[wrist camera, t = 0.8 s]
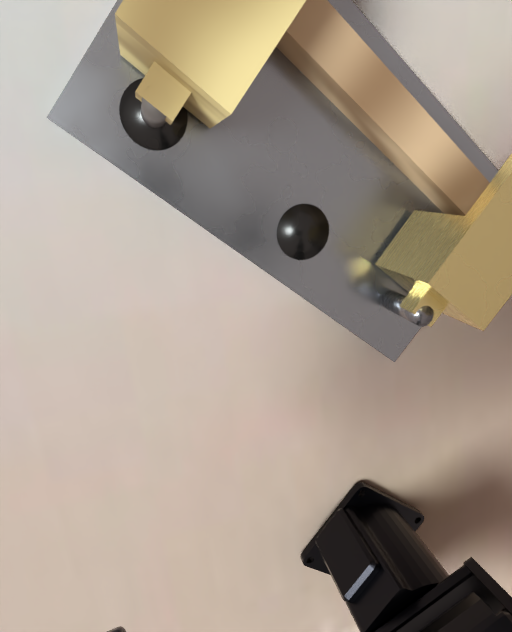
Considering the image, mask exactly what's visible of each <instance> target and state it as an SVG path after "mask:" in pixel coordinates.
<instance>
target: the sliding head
mask: <svg viewBox="0 0 512 632" xmlns="http://www.w3.org/2000/svg"><path fill="white" fill-rule="evenodd" d="M375 265H376V266H377V267H379V268H380V269H381V270H382V271H383V272H385V273H386V274H387V275H388V276H390V277H391V278H392V279H393V280H394V281H396V282H397V283H398V284H399V285H400V286H402V287H403V288H404V289H405V290H407V291H408V292H409V293H408V295H407V296H405V295H402V294H400V293H398V292H396V291H393V290H390V291H387V292H386V293H385V294H384V295H383V296H382V299H381V304H382V306H383V307H384V308H386V309H387V310H389V311H391V312H393V313H395V314H397V315H399V316H401V317H403V318H405V319H407V320H408V321H410V322H412V323H414V324H416V325H418V326H421V327H423V326H426V325H427V326H429V327H432V325H433V324H434V323H435V321H436V320H437V319H438V317H439V316H440V315H441V313H443V314H446V315H448V316H450V317H452V318H455V319H457V320H459V321H461V322H464V323H466V324H468V325H470V326H473V327H475V328H477V329H480V330H482V331H484V329H485V328H486V327H487V326H488V324H489V323H490V322H491V321H492V319H493V318H494V317H495V315H496V314H497V313H498V312H499V310H500V309H501V308H502V306H503V305H504V304H505V303H506V301H507V300H508V299H509V297H510V296H511V295H512V154H511V155H510V156H509V158H508V159H507V160H506V162H505V163H504V164H503V166H502V167H501V169H500V170H499V171H498V173H497V174H496V175H495V177H494V178H493V179H492V181H491V182H490V183H489V185H488V186H487V187H486V189H485V190H484V191H483V193H482V194H481V195H480V197H479V198H478V199H477V201H476V202H475V203H474V205H473V206H472V207H471V209H470V210H469V211H468V213H467V214H466V215H465V216H460V215H451V214H442V213H434V212H425V211H416V210H414V211H413V213H412V214H411V215H410V217H409V218H408V220H407V221H406V222H405V224H404V225H403V226H402V228H401V229H400V230H399V232H398V233H397V235H396V236H395V237H394V239H393V240H392V241H391V243H390V244H389V246H388V247H387V248H386V250H385V251H384V252H383V254H382V255H381V256H380V258H379V259H378V261H377V262H376V263H375Z"/></svg>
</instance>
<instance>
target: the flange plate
mask: <svg viewBox="0 0 512 632" xmlns="http://www.w3.org/2000/svg"><path fill="white" fill-rule="evenodd" d="M122 1H123V0H117V2H116V3H115V5H114V7H113V8H112V10H111V12H110V13H109V15H108V17H107V18H106V20H105V22H104V23H103V25H102V27H101V28H100V30H99V32H98V33H97V35H96V37H95V38H94V40H93V42H92V43H91V45H90V47H89V48H88V50H87V52H86V53H85V55H84V57H83V58H82V60H81V62H80V63H79V65H78V67H77V68H76V70H75V71H74V73H73V75H72V76H71V78H70V80H69V81H68V83H67V85H66V86H65V88H64V90H63V91H62V93H61V95H60V96H59V98H58V100H57V101H56V103H55V105H54V106H53V108H52V110H51V111H50V113H49V115H48V116H47V118H48V119H49V120H51V121H52V122H54V123H55V124H57V125H58V126H59V127H61V128H62V129H64V130H65V131H66V132H68V133H69V134H71V135H72V136H74V137H75V138H76V139H78V140H79V141H81V142H82V143H84V144H85V145H86V146H88V147H89V148H91V149H92V150H93V151H95V152H96V153H98V154H99V155H101V156H102V157H103V158H105V159H106V160H108V161H109V162H111V163H112V164H113V165H115V166H116V167H118V168H119V169H120V170H122V171H123V172H125V173H126V174H128V175H129V176H130V177H132V178H133V179H135V180H136V181H138V182H139V183H140V184H142V185H143V186H145V187H146V188H148V189H149V190H150V191H152V192H153V193H155V194H156V195H157V196H159V197H160V198H162V199H163V200H165V201H166V202H167V203H169V204H170V205H172V206H173V207H175V208H176V209H177V210H179V211H180V212H182V213H183V214H184V215H186V216H187V217H189V218H190V219H192V220H193V221H194V222H196V223H197V224H199V225H200V226H202V227H203V228H204V229H206V230H207V231H209V232H210V233H211V234H213V235H214V236H216V237H217V238H219V239H220V240H221V241H223V242H224V243H226V244H227V245H229V246H230V247H231V248H233V249H234V250H236V251H237V252H238V253H240V254H241V255H243V256H244V257H246V258H247V259H248V260H250V261H251V262H253V263H254V264H256V265H257V266H258V267H260V268H261V269H263V270H264V271H265V272H267V273H268V274H270V275H271V276H273V277H274V278H275V279H277V280H278V281H280V282H281V283H283V284H284V285H285V286H287V287H288V288H290V289H291V290H292V291H294V292H295V293H297V294H298V295H300V296H301V297H302V298H304V299H305V300H307V301H308V302H310V303H311V304H312V305H314V306H315V307H317V308H318V309H320V310H321V311H322V312H324V313H325V314H327V315H328V316H329V317H331V318H332V319H334V320H335V321H337V322H338V323H339V324H341V325H342V326H344V327H345V328H347V329H348V330H349V331H351V332H352V333H354V334H355V335H356V336H358V337H359V338H361V339H362V340H364V341H365V342H366V343H368V344H369V345H371V346H372V347H374V348H375V349H376V350H378V351H379V352H381V353H382V354H383V355H385V356H386V357H388V358H389V359H391V360H392V361H393V362H395V361H396V360H397V358H398V357H399V356H400V354H401V353H402V352H403V350H404V349H405V348H406V346H407V345H408V344H409V342H410V341H411V340H412V339H413V337H414V336H415V335H416V333H417V332H418V331H419V329H420V328H421V326H418V325H416V324H414V323H412V322H410V321H408V320H407V319H405V318H403V317H401V316H399V315H397V314H395V313H393V312H391V311H389V310H387V309H386V308H384V307H383V306H382V304H381V299H382V296H383V295H384V294H385V293H386V292H387V291H390V290H393V291H396V292H398V293H400V294H402V295H405V296H407V295H408V293H409V292H408V291H407V290H405V289H404V288H403V287H402V286H400V285H399V284H398V283H397V282H396V281H394V280H393V279H392V278H391V277H390V276H388V275H387V274H386V273H385V272H383V271H382V270H381V269H380V268H379V267H377V266H376V265H375V263H376V262H377V261H378V259H379V258H380V256H381V255H382V254H383V252H384V251H385V250H386V248H387V247H388V246H389V244H390V243H391V241H392V240H393V239H394V237H395V236H396V235H397V233H398V232H399V230H400V229H401V228H402V226H403V225H404V224H405V222H406V221H407V220H408V218H409V217H410V215H411V214H412V213H413V211H414V210H416V211H425V212H434V213H442V214H444V213H443V212H442V211H441V210H440V209H439V208H438V207H437V206H436V205H435V204H434V203H433V202H432V201H431V200H430V199H429V198H428V197H427V196H426V195H425V194H424V193H423V192H422V191H421V190H420V189H419V188H418V187H417V186H416V185H415V184H414V183H413V182H412V181H411V180H410V179H409V178H408V177H407V176H406V175H405V174H404V173H403V172H402V171H401V170H400V169H398V168H397V167H396V166H395V165H394V164H393V163H392V162H391V161H390V160H389V159H388V158H387V157H386V156H385V155H384V154H383V153H382V152H381V151H380V150H379V149H378V148H377V147H376V146H375V145H374V144H373V143H372V142H371V141H370V140H369V139H368V138H367V137H366V136H365V135H364V134H363V133H362V132H361V131H360V130H359V129H358V128H357V127H356V126H355V125H354V124H353V123H352V122H351V121H350V120H349V119H348V118H347V117H346V116H345V115H344V114H343V113H342V112H341V111H340V110H339V109H338V108H337V107H336V106H335V105H334V104H333V103H332V102H331V101H330V100H329V99H328V98H327V97H326V96H325V95H324V94H323V93H322V92H321V91H320V90H319V89H318V88H317V87H316V86H315V85H314V84H313V83H312V82H311V81H310V80H309V79H308V78H307V77H306V76H305V75H304V74H303V73H302V72H301V71H300V70H299V69H298V68H297V67H296V66H295V65H294V64H293V63H292V62H291V61H290V60H289V59H288V58H287V57H286V56H285V55H284V54H283V53H282V52H281V51H280V50H279V49H278V48H277V47H275V49H274V50H273V52H272V53H271V55H270V56H269V58H268V59H267V61H266V62H265V64H264V65H263V67H262V68H261V70H260V71H259V73H258V74H257V76H256V77H255V79H254V81H253V82H252V84H251V85H250V87H249V88H248V90H247V91H246V93H245V94H244V96H243V97H242V99H241V100H240V102H239V103H238V105H237V106H236V108H235V109H234V111H233V112H232V114H231V115H229V116H228V117H227V118H225V119H224V120H222V121H221V122H219V123H218V124H216V125H215V126H213V127H212V128H209V127H207V126H206V125H205V124H204V123H202V122H201V121H200V120H199V119H198V118H196V117H195V116H194V115H193V114H192V113H190V112H189V111H188V110H187V109H185V108H184V107H182V108H181V110H180V111H179V113H178V114H177V116H176V117H175V119H174V121H173V122H172V124H171V125H170V124H169V123H167V122H166V123H165V124H164V125H163V126H162V127H159V128H152V127H150V126H148V125H147V124H146V123H145V122H144V121H143V119H142V116H141V104H142V102H141V101H140V100H138V99H137V98H136V97H135V91H136V90H137V88H138V86H139V85H140V83H141V82H142V80H143V78H144V77H145V75H144V74H143V73H142V72H141V71H139V70H138V69H137V68H136V67H134V66H133V65H132V64H131V63H130V62H128V61H127V60H126V59H125V58H123V57H122V56H121V55H120V49H119V42H118V35H117V27H116V20H115V12H116V11H117V9H118V8H119V6H120V4H121V3H122ZM328 2H329V3H330V4H331V5H332V6H333V7H334V8H335V9H336V11H337V12H338V13H339V14H340V15H341V16H342V17H343V18H344V20H345V21H346V22H347V23H348V24H349V25H350V26H351V27H352V29H353V30H354V31H355V32H356V33H357V34H358V35H359V36H360V38H361V39H362V40H363V41H364V42H365V43H366V44H367V45H368V46H369V48H370V49H371V50H372V51H373V52H374V53H375V54H376V55H377V57H378V58H379V59H380V60H381V61H382V62H383V63H384V64H385V66H386V67H387V68H388V69H389V70H390V71H391V72H392V73H393V75H394V76H395V77H396V78H397V79H398V80H399V81H400V82H401V84H402V85H403V86H404V87H405V88H406V89H407V90H408V91H409V93H410V94H411V95H412V96H413V97H414V98H415V99H416V100H417V102H418V103H419V104H420V105H421V106H422V107H423V108H424V109H425V111H426V112H427V113H428V114H429V115H430V116H431V117H432V118H433V120H434V121H435V122H436V123H437V124H438V125H439V126H440V127H441V129H442V130H443V131H444V132H445V133H446V134H447V135H448V136H449V138H450V139H451V140H452V141H453V142H454V143H455V144H456V145H457V146H458V148H459V149H460V150H461V151H462V152H463V153H464V154H465V155H466V157H467V158H468V159H469V160H470V161H471V162H472V163H473V164H474V166H475V167H476V168H477V169H478V170H479V171H480V172H481V173H482V175H483V176H484V177H485V178H486V179H487V180H488V181H489V182H491V181H492V179H493V178H494V177H495V175H496V174H497V173H498V170H497V169H496V168H495V166H494V165H493V164H492V163H491V162H490V161H489V159H488V158H487V157H486V156H485V155H484V154H483V152H482V151H481V150H480V149H479V148H478V147H477V145H476V144H475V143H474V142H473V141H472V140H471V139H470V137H469V136H468V135H467V134H466V133H465V132H464V130H463V129H462V128H461V127H460V126H459V125H458V123H457V122H456V121H455V120H454V119H453V118H452V116H451V115H450V114H449V113H448V112H447V111H446V109H445V108H444V107H443V106H442V105H441V104H440V103H439V101H438V100H437V99H436V98H435V97H434V96H433V94H432V93H431V92H430V91H429V90H428V89H427V87H426V86H425V85H424V84H423V83H422V82H421V80H420V79H419V78H418V77H417V76H416V75H415V74H414V72H413V71H412V70H411V69H410V68H409V67H408V65H407V64H406V63H405V62H404V61H403V60H402V58H401V57H400V56H399V55H398V54H397V53H396V51H395V50H394V49H393V48H392V47H391V46H390V44H389V43H388V42H387V41H386V40H385V39H384V38H383V36H382V35H381V34H380V33H379V32H378V31H377V29H376V28H375V27H374V26H373V25H372V24H371V22H370V21H369V20H368V19H367V18H366V17H365V15H364V14H363V13H362V12H361V11H360V10H359V9H358V7H357V6H356V5H355V4H354V3H353V2H352V0H328Z"/></svg>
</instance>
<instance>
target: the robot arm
mask: <svg viewBox="0 0 512 632" xmlns="http://www.w3.org/2000/svg"><path fill="white" fill-rule="evenodd" d="M360 491H361V492H360ZM423 521H424V516H423V515H422V513H421V512H420V511H419V510H417V509H415V508H413V507H411V506H409V505H407V504H405V503H403V502H401V501H399V500H397V499H395V498H393V497H391V496H389V495H387V494H385V493H383V492H381V491H379V490H377V489H375V488H373V487H371V486H369V485H367V484H365V483H362V482H361V483H357V484H356V485H355V486H354V487H353V488H352V489H351V491H350V492H349V493H348V495H347V496H346V497H345V498H344V500H343V501H342V502H341V504H340V505H339V506H338V507H337V509H336V510H335V511H334V513H333V514H332V515H331V516H330V518H329V519H328V520H327V522H326V523H325V524H324V525H323V527H322V528H321V529H320V530H319V532H318V533H317V534H316V536H315V537H314V538H313V539H312V541H311V542H310V543H309V545H308V546H307V547H306V548H305V550H304V551H303V552H302V554H301V559H302V562H303V564H304V565H305V566H307V567H310V568H313V569H316V570H318V571H321V572H324V573H327V574H329V575H331V576H332V578H333V580H334V582H335V584H336V586H337V588H338V590H339V592H340V594H341V597H342V599H343V600H344V601H345V602H346V604H347V606H348V608H349V610H350V612H351V614H352V616H353V618H354V620H355V622H356V624H357V626H358V628H359V630H360V632H512V597H511V596H510V595H509V594H508V593H507V592H506V591H505V590H504V589H503V588H502V587H501V586H500V585H499V584H498V583H497V582H496V581H495V580H494V579H493V578H492V577H491V576H490V575H489V574H488V573H487V572H486V571H485V570H484V569H483V568H482V567H481V566H480V565H479V564H478V563H477V562H476V561H475V560H474V559H473V558H472V557H471V558H469V559H468V560H467V561H465V562H464V565H463V566H462V567H461V568H459V569H458V570H456V571H455V572H454V573H452V574H451V575H450V576H449V574H448V573H447V572H446V571H445V569H444V568H443V567H442V566H441V564H440V563H439V562H438V560H437V559H436V558H435V557H434V555H433V554H432V553H431V552H430V550H429V549H428V548H427V546H426V545H425V544H424V543H423V541H422V540H421V539H420V538H419V536H418V535H417V534H416V533H415V531H416V530H417V529H418V527H419V526H420V525H421V524H422V522H423ZM107 632H126V630H125V629H124V628H123V627H121V626H120V627H117V628H115V629H112V630H110V631H107Z"/></svg>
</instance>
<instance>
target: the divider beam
mask: <svg viewBox="0 0 512 632" xmlns="http://www.w3.org/2000/svg"><path fill="white" fill-rule="evenodd" d="M115 20H116V27H117V35H118V42H119V49H120V55H121V56H122V57H123V58H125V59H126V60H127V61H128V62H130V63H131V64H132V65H133V66H134V67H136V68H137V69H138V70H139V71H141V72H142V73H143V74H144V75H145V77H144V78H143V80H142V82H141V83H140V85H139V86H138V88H137V90H136V91H135V97H136V98H137V99H138V100H140V101H141V102H142V104H141V116H142V119H143V121H144V122H145V123H146V124H147V125H148V126H150V127H152V128H159V127H162V126H163V125H164V124H165V123H166V122H167V123H169V124H170V125H171V124H172V122H173V121H174V119H175V117H176V116H177V114H178V113H179V111H180V110H181V108H182V107H184V108H185V109H187V110H188V111H189V112H190V113H192V114H193V115H194V116H195V117H196V118H198V119H199V120H200V121H201V122H202V123H204V124H205V125H206V126H207V127H209V128H212V127H213V126H215V125H216V124H218V123H219V122H221V121H222V120H224V119H225V118H227V117H228V116H229V115H231V114H232V112H233V111H234V109H235V108H236V106H237V105H238V103H239V102H240V100H241V99H242V97H243V96H244V94H245V93H246V91H247V90H248V88H249V87H250V85H251V84H252V82H253V81H254V79H255V77H256V76H257V74H258V73H259V71H260V70H261V68H262V67H263V65H264V64H265V62H266V61H267V59H268V58H269V56H270V55H271V53H272V52H273V50H274V49H275V47H277V48H278V49H279V50H280V51H281V52H282V53H283V54H284V55H285V56H286V57H287V58H288V59H289V60H290V61H291V62H292V63H293V64H294V65H295V66H296V67H297V68H298V69H299V70H300V71H301V72H302V73H303V74H304V75H305V76H306V77H307V78H308V79H309V80H310V81H311V82H312V83H313V84H314V85H315V86H316V87H317V88H318V89H319V90H320V91H321V92H322V93H323V94H324V95H325V96H326V97H327V98H328V99H329V100H330V101H331V102H332V103H333V104H334V105H335V106H336V107H337V108H338V109H339V110H340V111H341V112H342V113H343V114H344V115H345V116H346V117H347V118H348V119H349V120H350V121H351V122H352V123H353V124H354V125H355V126H356V127H357V128H358V129H359V130H360V131H361V132H362V133H363V134H364V135H365V136H366V137H367V138H368V139H369V140H370V141H371V142H372V143H373V144H374V145H375V146H376V147H377V148H378V149H379V150H380V151H381V152H382V153H383V154H384V155H385V156H386V157H387V158H388V159H389V160H390V161H391V162H392V163H393V164H394V165H395V166H396V167H397V168H398V169H400V170H401V171H402V172H403V173H404V174H405V175H406V176H407V177H408V178H409V179H410V180H411V181H412V182H413V183H414V184H415V185H416V186H417V187H418V188H419V189H420V190H421V191H422V192H423V193H424V194H425V195H426V196H427V197H428V198H429V199H430V200H431V201H432V202H433V203H434V204H435V205H436V206H437V207H438V208H439V209H440V210H441V211H442V212H443V213H444V214H451V215H460V216H465V215H466V214H467V213H468V211H469V210H470V209H471V207H472V206H473V205H474V203H475V202H476V201H477V199H478V198H479V197H480V195H481V194H482V193H483V191H484V190H485V189H486V187H487V186H488V185H489V183H490V182H489V181H488V180H487V179H486V178H485V177H484V176H483V175H482V173H481V172H480V171H479V170H478V169H477V168H476V167H475V166H474V164H473V163H472V162H471V161H470V160H469V159H468V158H467V157H466V155H465V154H464V153H463V152H462V151H461V150H460V149H459V148H458V146H457V145H456V144H455V143H454V142H453V141H452V140H451V139H450V138H449V136H448V135H447V134H446V133H445V132H444V131H443V130H442V129H441V127H440V126H439V125H438V124H437V123H436V122H435V121H434V120H433V118H432V117H431V116H430V115H429V114H428V113H427V112H426V111H425V109H424V108H423V107H422V106H421V105H420V104H419V103H418V102H417V100H416V99H415V98H414V97H413V96H412V95H411V94H410V93H409V91H408V90H407V89H406V88H405V87H404V86H403V85H402V84H401V82H400V81H399V80H398V79H397V78H396V77H395V76H394V75H393V73H392V72H391V71H390V70H389V69H388V68H387V67H386V66H385V64H384V63H383V62H382V61H381V60H380V59H379V58H378V57H377V55H376V54H375V53H374V52H373V51H372V50H371V49H370V48H369V46H368V45H367V44H366V43H365V42H364V41H363V40H362V39H361V38H360V36H359V35H358V34H357V33H356V32H355V31H354V30H353V29H352V27H351V26H350V25H349V24H348V23H347V22H346V21H345V20H344V18H343V17H342V16H341V15H340V14H339V13H338V12H337V11H336V9H335V8H334V7H333V6H332V5H331V4H330V3H329V2H328V0H123V1H122V3H121V4H120V6H119V8H118V9H117V11H116V12H115Z"/></svg>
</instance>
